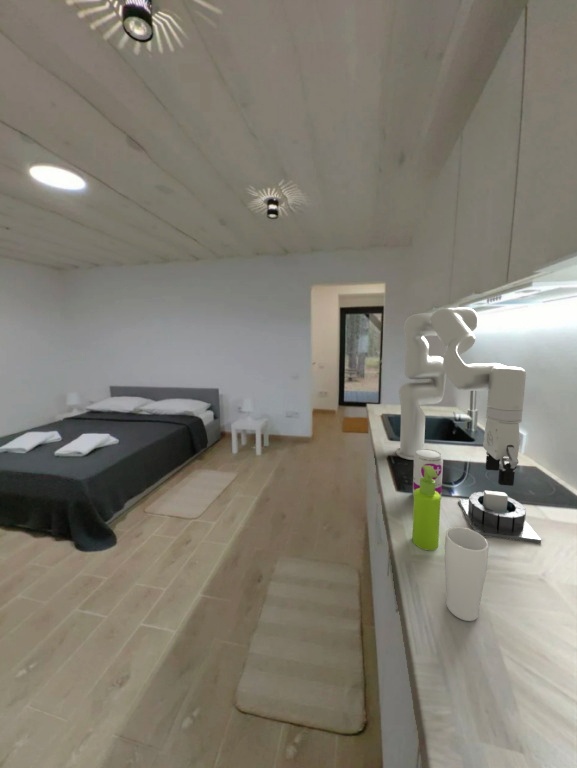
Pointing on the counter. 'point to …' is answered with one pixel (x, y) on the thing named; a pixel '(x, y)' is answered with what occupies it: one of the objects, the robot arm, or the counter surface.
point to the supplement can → (432, 460)
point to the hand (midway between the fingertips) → (498, 476)
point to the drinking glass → (465, 571)
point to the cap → (495, 501)
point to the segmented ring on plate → (498, 520)
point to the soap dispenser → (426, 512)
